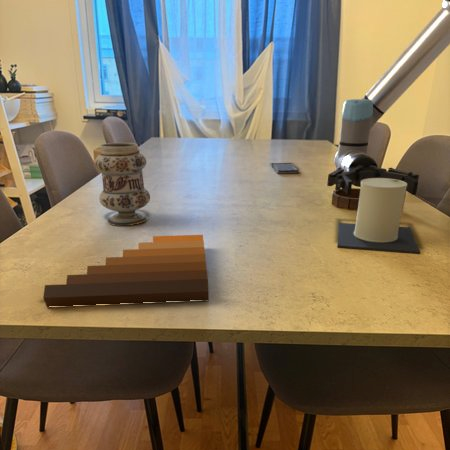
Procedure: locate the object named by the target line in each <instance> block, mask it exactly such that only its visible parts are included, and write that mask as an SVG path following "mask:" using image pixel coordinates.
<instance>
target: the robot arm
mask: <svg viewBox="0 0 450 450" xmlns="http://www.w3.org/2000/svg"><path fill="white" fill-rule="evenodd" d="M449 46H450V0H442V6H441V8H440V9H439V11H438V12H437V13H436V14H435V15H434V17H432V18H431V20H429V22H428V23H427V24H426V25H425V26H424V27H423V29H421V31H420V32H419V33H418V34H417V36H416V37H415V38H414V39H413V40H412V41H411V43H409V45H408V46H407V47H406V48H405V49H404V50H403V52H401V54H400V55H399V56H398V57H397V58H396V60H394V62H393V63H392V64H391V65H390V66H389V67H388V68H387V70H386V71H385V72H384V73H383V74H382V76H381V77H380V78H379V79H378V80H377V81H376V82H375V83H374V84H373V86H372V87H371V88H370V89H369V90H368V91H367V92H366V93H365V95H364V96H363V97H362V98H353V99H352V98H351V99H346V100H345V101H344V102H343V106H342V112H341V121H340V122H341V123H340V134H339V142H338V150H337V152H336V153H335V156H334V166H335V168H336V169H335V170H334V171H332V172H330V173H328V174H327V184H326V186H327V187H333V186H334V185H335V187H334V190H340V189H343V190H344V192H345V193H346V194H347V195H351V188H353V186H354V187H357V188H361V181H362V180H364V179H368V178H389V179H396V180H401V181H404V182H406V183H407V187H406V193H409V194H410V195H412V196H416V195H417V190H418V187H419V186H418V185H419V180H420V175H419V174H417V173H414V172H413V171H410V172H408V171H404V170H399V169H396V168H393V167H388V169H387V168H383V167H379V166H378V163H377V162H376V160H375V159H374V158H373V157H371V156H369V155H368V154H367V152H368V146H369V138H370V131H371V129H372V128H373V127H374V126H375V125H376V124H377V123H378V121H379V120H380V119H381V118H382V117H384V115H385V114H386V112H387V111H388V110H389V109H390V108H391V107H393V105H394V104H395V103H396V102H397V101H398V100H399V99H400V97H402V95H404V93H405V92H406V91H407V90H408V89H409V88H410V87H411V86H412V85H413V84H414V83H415V82H416V81H417V80H418V78H419V77H420V76H421V75H422V74H423V73H425V71H427V69H428V68H429V67H430V66H431V65H432V64H433V63H434V61H436V59H437V58H438V57H440V55H441V54H442V53H443V52H444V51H445V50H446V49H447V48H448V47H449Z"/></svg>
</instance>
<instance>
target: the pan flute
mask: <svg viewBox="0 0 450 450" xmlns="http://www.w3.org/2000/svg"><path fill="white" fill-rule="evenodd" d="M205 251H206V250H205V241H204V234H180V235H153V236H152V241H149V242H138V248H137V249H136V248H135V249H134V248H133V249H132V248H131V249H123V250H122V256H109V257H108V256H107V257H105V264H103V265H101V264H100V265H87V266H86V273H85V274H84V273H83V274H67V275H66V283H64V284H45V285H44V290H43V291H44V292H43V296H42V297H43V301H44V304H45V306H46V308H47V307H49V306H73V305H96V304H120V303H143V302H166V301H190V300H210V299H209V298H210V295H209V278H208V270H207V261H206V252H205Z"/></svg>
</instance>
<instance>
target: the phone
mask: <svg viewBox="0 0 450 450" xmlns="http://www.w3.org/2000/svg"><path fill="white" fill-rule="evenodd" d="M271 168H272V169H273V170H274V171H275V173H276V174H280V175H281V174H299V168H297V167H296V166H295V165H294V164H293V163H291V162H273V163H271Z"/></svg>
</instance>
